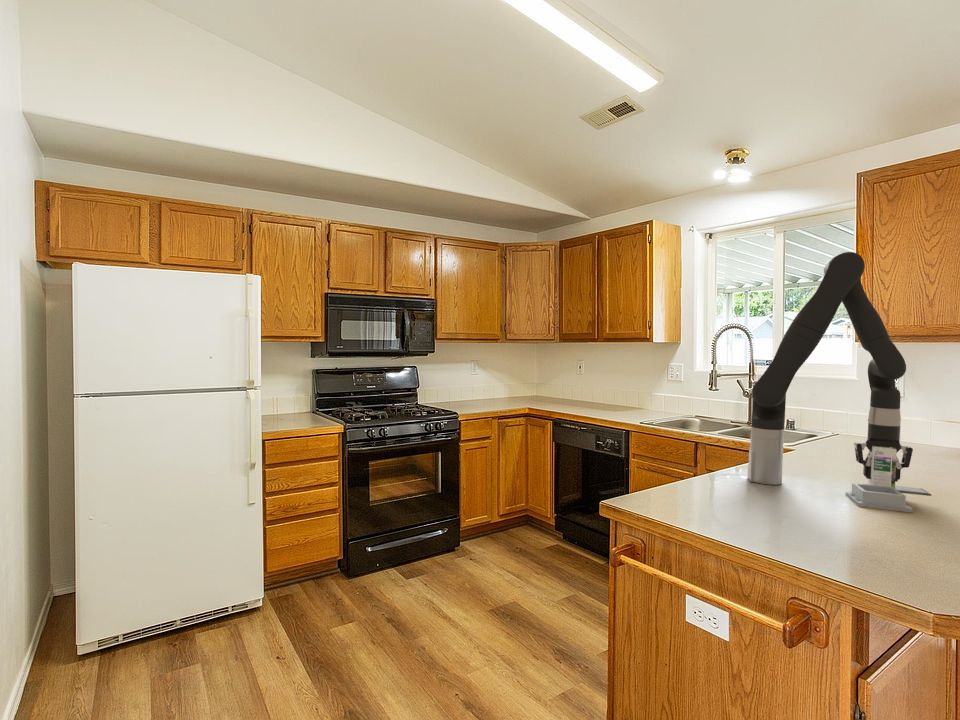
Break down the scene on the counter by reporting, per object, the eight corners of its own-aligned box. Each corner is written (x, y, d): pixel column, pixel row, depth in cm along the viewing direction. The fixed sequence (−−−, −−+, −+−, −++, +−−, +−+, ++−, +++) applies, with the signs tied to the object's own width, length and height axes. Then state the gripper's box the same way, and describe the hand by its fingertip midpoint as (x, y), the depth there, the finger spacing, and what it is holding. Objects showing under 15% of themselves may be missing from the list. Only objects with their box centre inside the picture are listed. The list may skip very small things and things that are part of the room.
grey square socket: (858, 506, 144) (858, 491, 144) (845, 495, 155) (846, 481, 155) (912, 512, 139) (913, 497, 139) (895, 500, 151) (895, 486, 151)
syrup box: (870, 495, 155) (872, 446, 154) (866, 491, 160) (869, 443, 160) (894, 498, 152) (897, 448, 152) (890, 494, 157) (892, 445, 157)
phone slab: (931, 497, 157) (931, 493, 157) (878, 491, 162) (878, 488, 162) (921, 491, 163) (921, 488, 163) (871, 486, 168) (871, 482, 168)
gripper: (859, 422, 154) (856, 479, 155) (919, 426, 149) (916, 485, 150) (851, 419, 161) (848, 474, 162) (908, 423, 156) (906, 479, 157)
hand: (881, 479), depth 156 cm, fingers closed on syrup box, 6 cm apart
